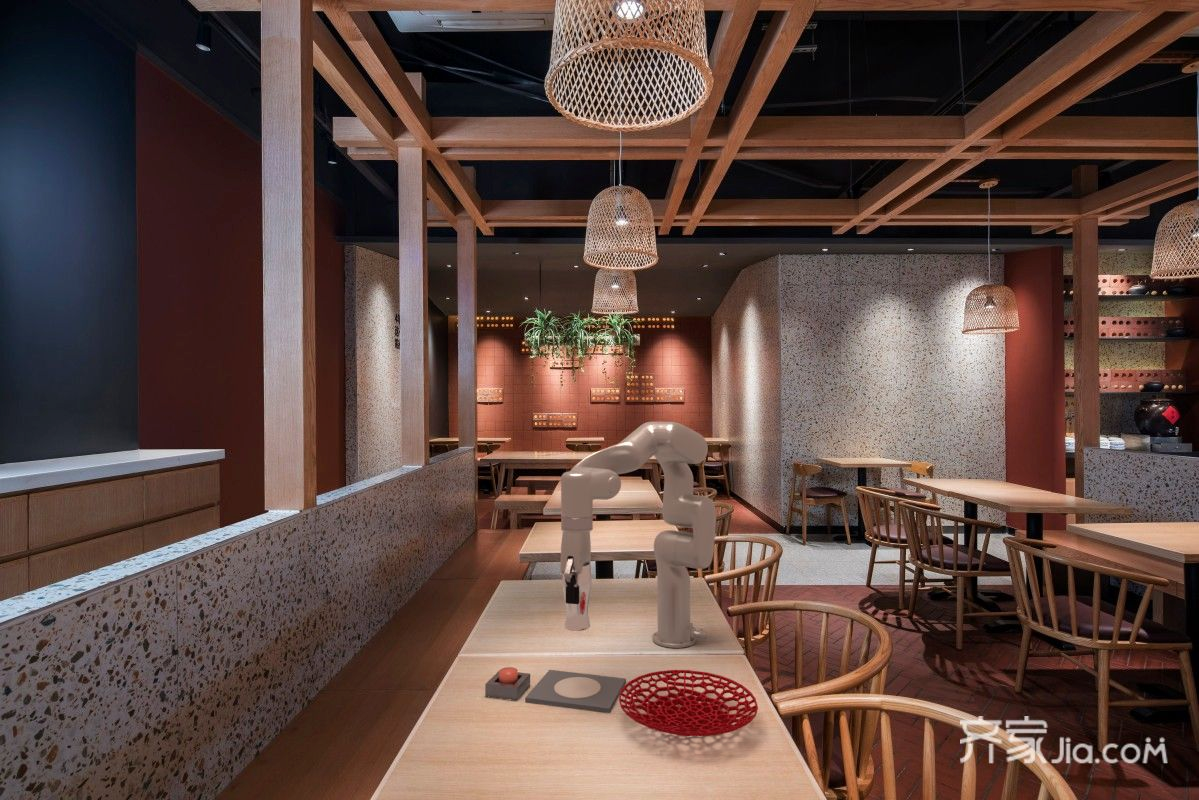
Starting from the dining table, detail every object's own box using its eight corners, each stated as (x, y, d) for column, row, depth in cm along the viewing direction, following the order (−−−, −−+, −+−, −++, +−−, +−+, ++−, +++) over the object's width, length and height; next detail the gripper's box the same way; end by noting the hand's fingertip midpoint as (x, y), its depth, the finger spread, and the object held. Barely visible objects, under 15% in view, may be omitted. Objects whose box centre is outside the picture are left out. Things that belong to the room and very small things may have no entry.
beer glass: (588, 632, 144) (588, 567, 144) (559, 630, 145) (558, 566, 145) (594, 622, 150) (594, 560, 151) (566, 620, 152) (566, 559, 152)
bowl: (668, 775, 113) (668, 748, 113) (595, 707, 140) (595, 685, 140) (788, 736, 127) (788, 711, 127) (701, 681, 153) (701, 661, 153)
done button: (520, 680, 149) (520, 668, 149) (513, 688, 145) (513, 675, 145) (503, 678, 150) (503, 666, 151) (495, 686, 146) (495, 673, 146)
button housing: (530, 686, 151) (530, 673, 151) (517, 700, 143) (517, 687, 143) (499, 682, 153) (499, 670, 153) (485, 696, 145) (485, 683, 145)
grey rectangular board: (626, 682, 152) (626, 677, 152) (609, 713, 137) (609, 707, 137) (549, 673, 158) (549, 668, 158) (525, 702, 142) (525, 696, 142)
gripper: (573, 516, 157) (573, 587, 157) (549, 529, 141) (549, 608, 140) (601, 518, 155) (602, 589, 155) (581, 531, 139) (581, 611, 138)
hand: (577, 598), depth 148 cm, fingers closed on beer glass, 6 cm apart
